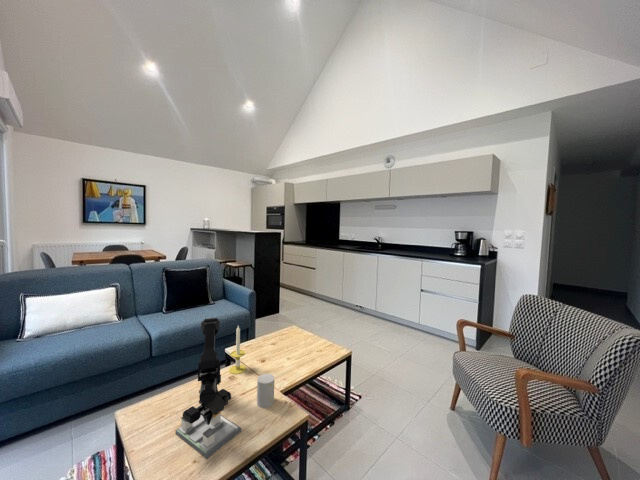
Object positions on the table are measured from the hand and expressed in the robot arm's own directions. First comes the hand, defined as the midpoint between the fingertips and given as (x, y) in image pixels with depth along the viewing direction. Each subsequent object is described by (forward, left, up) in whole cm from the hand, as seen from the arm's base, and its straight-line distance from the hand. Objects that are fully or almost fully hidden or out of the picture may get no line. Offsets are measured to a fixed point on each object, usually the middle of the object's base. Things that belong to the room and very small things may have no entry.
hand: (207, 424), depth 110 cm
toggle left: (-7, -5, -1) cm, 9 cm away
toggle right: (+7, -5, -1) cm, 9 cm away
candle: (-28, +39, -4) cm, 48 cm away
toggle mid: (0, +3, -1) cm, 4 cm away
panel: (0, 0, -3) cm, 3 cm away
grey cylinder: (+6, +27, -4) cm, 28 cm away
